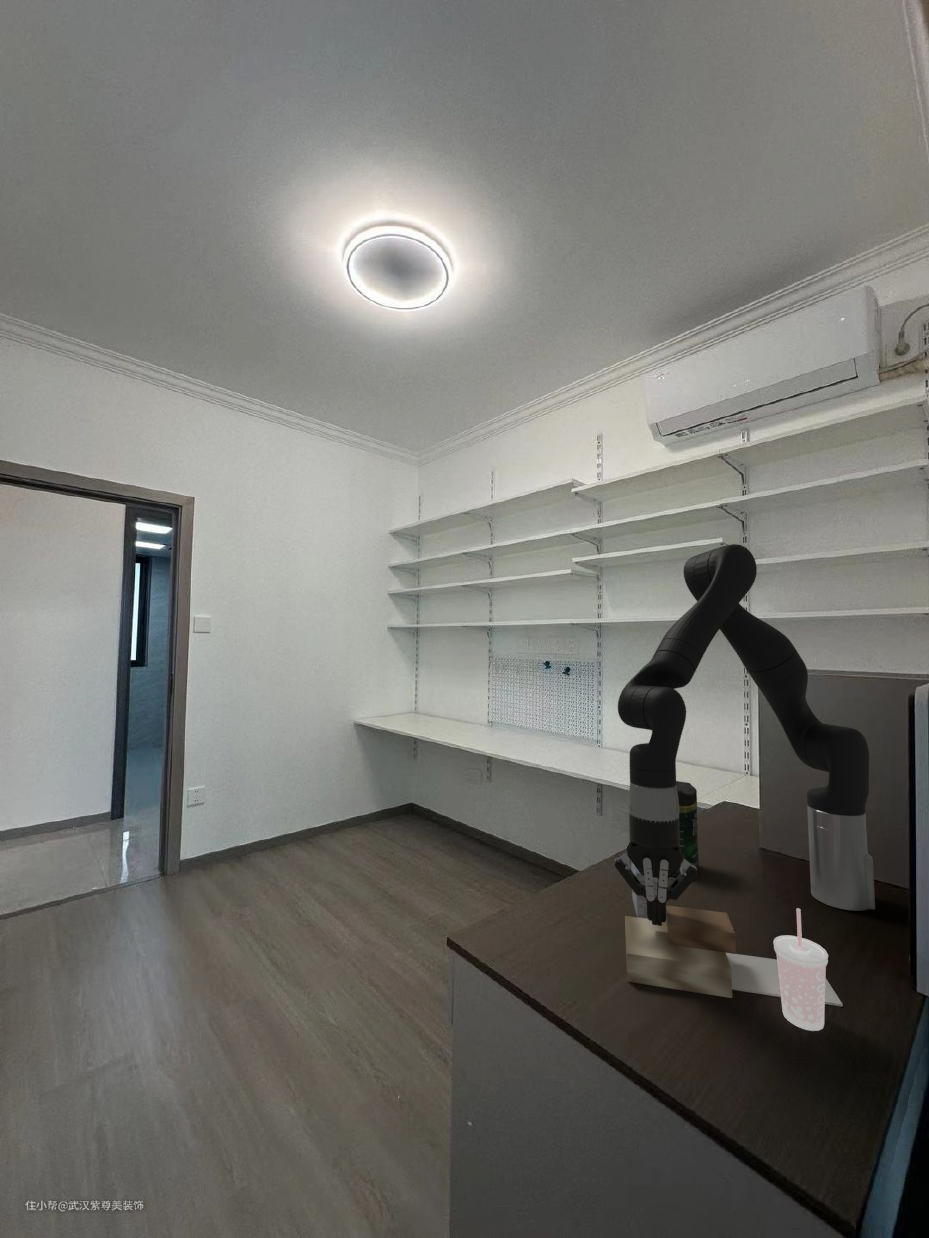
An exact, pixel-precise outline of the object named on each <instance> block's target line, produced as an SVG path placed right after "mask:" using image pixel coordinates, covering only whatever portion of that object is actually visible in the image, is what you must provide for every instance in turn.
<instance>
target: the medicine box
mask: <svg viewBox="0 0 929 1238" xmlns="http://www.w3.org/2000/svg"><path fill="white" fill-rule="evenodd" d="M630 865H631V868H630V869H631V871H632V872H633V873H634V875H635V876H636V877H637V879H638V880H639V881H640V883H641V884H643V885H645V879H644V876H643V875H642V874H640V872H639V871H638V870H637V868H636V867H635V865H634V864H633V863H632V861H631V860H630ZM653 886H654V894H655V897H656V896H657V878H653ZM631 895H632V896H631V897H632V903H633V907H634V910H635V914H636V915H635V916H636V917H637V918H645V919H648V917H647V902H646V898H645V897H643V896H638V895H636V894H635V893H634V891H633V890H632V889H631Z"/></svg>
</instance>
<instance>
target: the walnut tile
mask: <svg viewBox="0 0 929 1238" xmlns="http://www.w3.org/2000/svg"><path fill="white" fill-rule="evenodd" d="M666 925H667V931H668V936H669V942H670V945H675V946H682V947H689V948H697V949H704V950H711V951H718V952H725V953H732V954H737V953H736V932H735V930H734V927H733V925H732V922H731V919H730V918H729V914H728V912H723V911H716V910H706V909H698V908H690V907H683V906H676V905H675V906H673V905H667V904H666Z"/></svg>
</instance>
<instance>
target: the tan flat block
mask: <svg viewBox="0 0 929 1238" xmlns="http://www.w3.org/2000/svg"><path fill="white" fill-rule="evenodd" d="M624 926H625V927H624V928H625V929H624V931H625V932H624V933H625V934H624V935H625V957H626V959H625V960H626V979H627V982H629V983H635V984H641V985H647V986H653V987H660V988H666V989H671V990H679V991H685V992H691V993H692V992H693V993H697V994H703V995H709V996H716V997H724V998H729V999H733V990H732V972H731V966H730V963H729V961H728V958H727V955H726V953H725V952H718V951H711V950H704V949H697V948H689V947H682V946H675V945H670V942H669V936H668V931H667V925H666V922H662V926H658V925H652V921H650V920H648V919H645V918H637V916H629V915H624Z"/></svg>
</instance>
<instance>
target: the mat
mask: <svg viewBox="0 0 929 1238" xmlns="http://www.w3.org/2000/svg"><path fill="white" fill-rule="evenodd" d="M726 955H727V958H728V961H729V963H730V966H731V972H732V991H733V990H734V991H738V992H746V993H750V994H751V993H752V994H757V995H758V994H759V995H765V996H770V997H771V996H772V997H777V998H781V992H780V982H779V973H778V963H777V958H776V959H775V958H768V957H760V956H756V955H755V956H754V955H753V956H752V955H746V954H738V953H736V954H732V953H726ZM825 1005H830V1006H836V1007H843V1006H844V1005H843V1002H842V1000H840V998H839V996H838V994H836V992H835V991H834V989H833V987H832V986H831V984H830V982H829V981H828V979H827V978H826V977H825Z"/></svg>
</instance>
